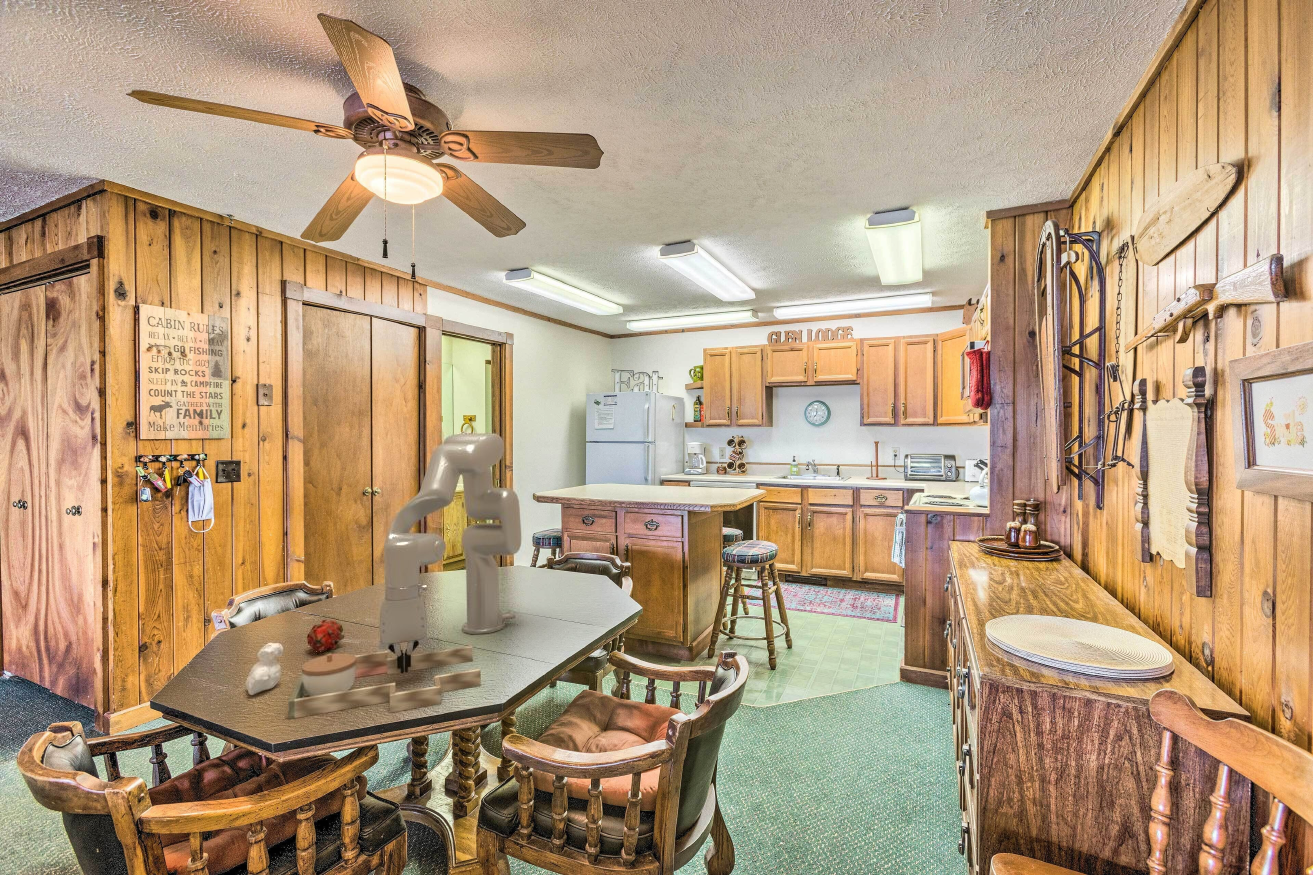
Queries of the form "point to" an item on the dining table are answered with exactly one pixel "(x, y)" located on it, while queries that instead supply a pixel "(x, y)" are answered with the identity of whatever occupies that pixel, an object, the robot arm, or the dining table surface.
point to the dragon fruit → (325, 635)
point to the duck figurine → (265, 669)
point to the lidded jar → (329, 674)
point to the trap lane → (386, 692)
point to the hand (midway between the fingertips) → (404, 670)
